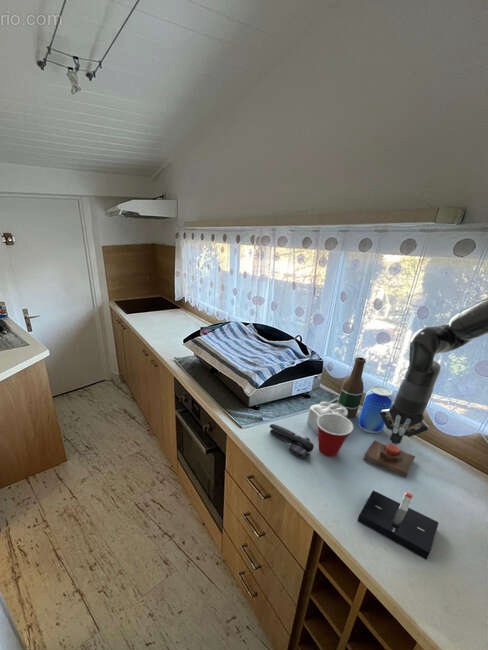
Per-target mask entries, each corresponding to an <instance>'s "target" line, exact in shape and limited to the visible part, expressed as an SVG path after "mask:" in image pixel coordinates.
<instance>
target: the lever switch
mask: <svg viewBox="0 0 488 650" xmlns="http://www.w3.org/2000/svg"><path fill="white" fill-rule="evenodd" d="M400 504H401V502H399V501H397V500H394V499H392V498H390V497H388V496H386V495H384V494H382V493H380V492H378V491H375V490H374V489H372V491H371V492H370V495H369V496H368V498H367V500H366V502H365V504H364V505H363V507H362V509H361V511H360V513H359V515H358V518H357V520H356V521H357V522H359V523H360V524H362V525H364V526H366V527H367V528H369V529H370V530H373V531H374V532H376V533H379V534H380V535H381V536H384V537H385V538H387V539H389V540H391V541H393V542H394V543H396V544H397V545H399V546H401V547H403V548H404V549H407V550H408V551H410V552H411V553H414V554H415V555H417V556H419V557H421V558H423V559H424V560H427V559H428V558H429V556H430V555H431V551H432V547H433V545H434V540H435V538H436V534H437V530H438V527H439V524H440V523H439V521H437V520H436V519H435V520H434V519H433V518H431V517H429V516H427V515H425V514H422V513H421V512H419V511H416V510H415V509H413V508H410V507H409V508H408V510H407V513H406V515H405V517H404V519H403V521H402V523H401V525H400V527H399V528H398V527H396V526H394V525H392V522H393V520H394V518H395V515H396V513H397V510H398V508H399V506H400Z"/></svg>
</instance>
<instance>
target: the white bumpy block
mask: <svg viewBox="0 0 488 650" xmlns="http://www.w3.org/2000/svg"><path fill="white" fill-rule="evenodd" d="M328 413H331V414H338V415H341V416H344V417H345V418H347V415H348V411H347V409H346V408H344V407H342V406H340V405H338V403H331V402H327V401H320V403H317V404H313V405H311V406H310V407H309V411H308V416H307V420H306V425H307V426H308V427H309V428H310V429H311V430H312V431H313V432H314V433H315V434H316V435H318V432H319V429H318V425H317V418H318V417H319V416H320V415H322V414H328ZM347 419H348V418H347Z"/></svg>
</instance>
